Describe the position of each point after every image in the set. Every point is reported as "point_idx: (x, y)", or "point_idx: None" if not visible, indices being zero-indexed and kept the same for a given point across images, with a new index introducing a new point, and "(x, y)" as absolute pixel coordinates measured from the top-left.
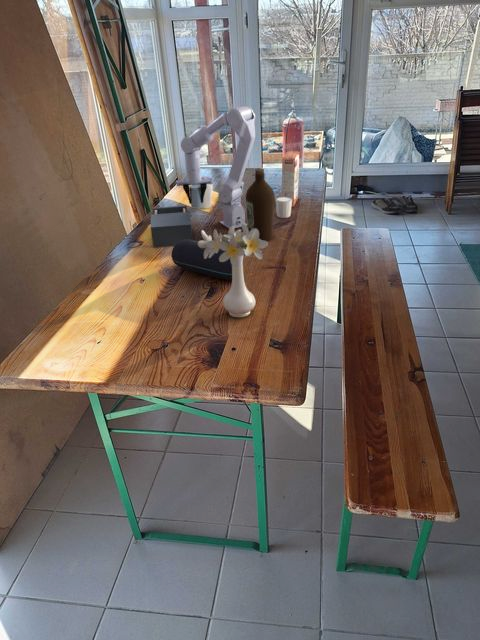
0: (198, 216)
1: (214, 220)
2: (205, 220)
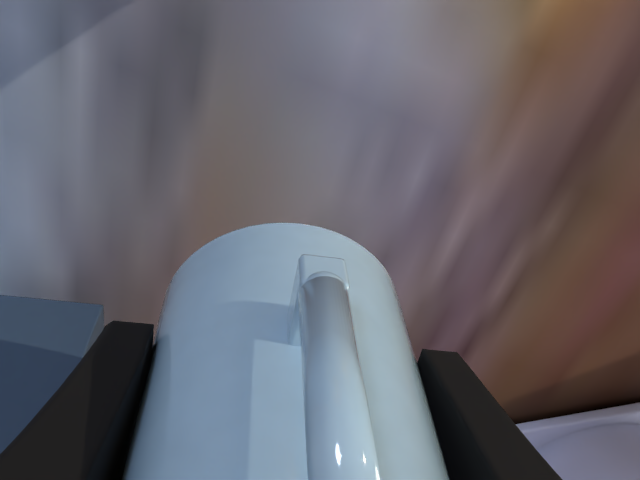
0: (312, 127)
1: (466, 346)
2: None
